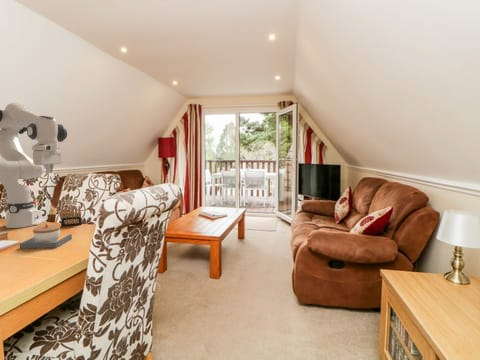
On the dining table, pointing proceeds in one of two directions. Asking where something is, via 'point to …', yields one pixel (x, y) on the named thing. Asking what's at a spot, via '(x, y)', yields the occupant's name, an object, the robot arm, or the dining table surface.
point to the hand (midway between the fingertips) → (49, 172)
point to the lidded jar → (46, 233)
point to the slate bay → (44, 243)
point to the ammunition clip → (71, 217)
